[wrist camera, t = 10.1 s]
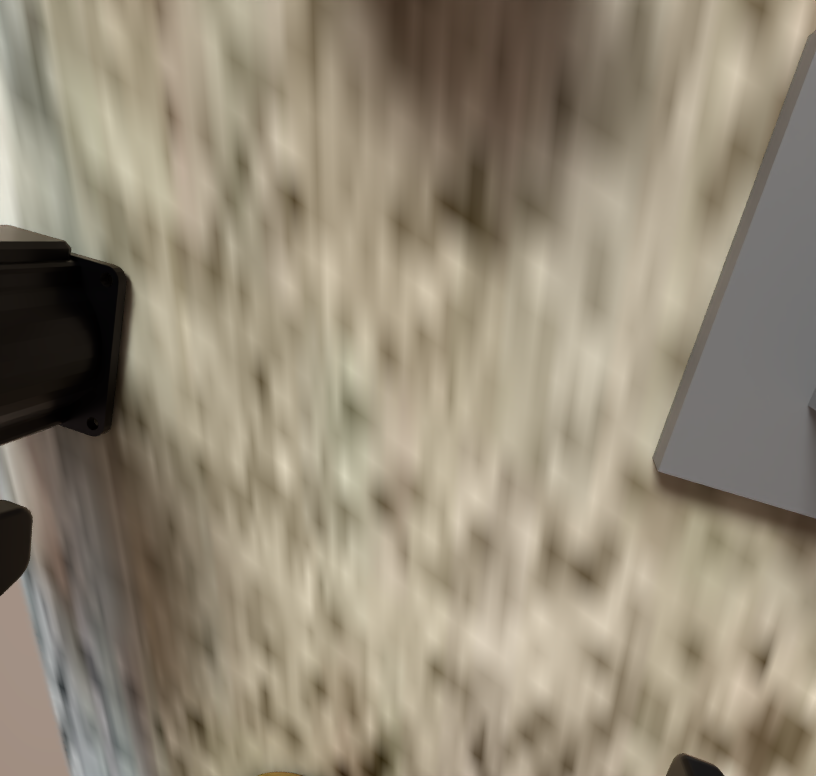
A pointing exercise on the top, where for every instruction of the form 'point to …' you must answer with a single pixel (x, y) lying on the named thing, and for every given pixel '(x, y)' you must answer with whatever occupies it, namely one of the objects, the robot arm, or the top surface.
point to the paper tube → (279, 774)
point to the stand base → (760, 334)
